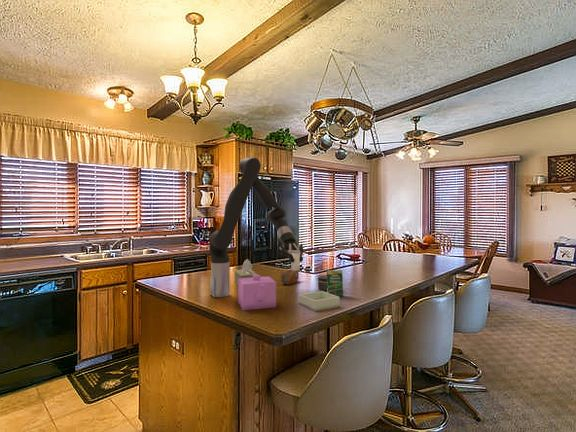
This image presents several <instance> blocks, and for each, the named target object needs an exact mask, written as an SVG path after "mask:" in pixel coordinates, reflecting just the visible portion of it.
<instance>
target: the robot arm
mask: <svg viewBox="0 0 576 432" xmlns="http://www.w3.org/2000/svg"><path fill="white" fill-rule="evenodd" d="M238 169H239V171H240V173H241V175H242V176H241V178H240V180H238V183H237V184H236V185H235V186H234V188H233V189H232V190H231V192H230V193H229V196H228V197H227V200H226V203H225V207H224V212H223V213H224V215H223V221H222V223H221V225H220V227H219V229H218V230H215V231H213V232H212V233H211V234H210V237H209V257H210V266H211V267H210V272H211V275H210V276H209V295H210V296H211V295H212V296H213V297H212V296H211V297H212V298H224V297H225V298H226V297H229V296H230V291H231V290H230V256H229V253H228V248H229V247H230V245H231V243H232V241H233V238H234V233H235V230H236V227H237V224H238V222H239V220H240V217H241V215H242V212H243V210H244V208H245V205H246V203H247V199H248V198H249V195H250V192H251V190H252V188H253V189H254V191H255V193H256V194H257V195H258V197H259V199H260V201H261V203H262V204H263V206H264V208H266V209H270V208H271V209H270V210H269V211H268V212H267V213H266V217H267V219H268V220H269V222H270V224H272V225H273V226H274V228H275V231H276V232H277V235H278V238H279V241H280V243H281V244H280V246H279V247H278V249H279V251H280V252H281V254H283V256H284V257H288V259H289V261H290V263H291V262H292V263H293V262H294V258H293V256H292V255H291V250H300V263H302V262H303V261H304V257H303V255H304V246H303V244H302V243H301V244H298V243H297V241H296V238H295V236H294V234H293V232H292V230H291V228H290V226H289V224H288V222H287V221H286V219H284V218H285V217H286V215H287V214H286V213H287V212H286V210H285V209H284V207H282V206H281V205H280V204H279V203H278V202H277V201H276V199H275V197H274V195H273V194H272V191H271V190H270V189H269V188H268V187H267V185H266V184H265V183H264V182H263V181H262V180H261V179H260V178H259V176H258V175H259V174H260V170H261V162H260V160H259V159H258V158H257V157H247V158H246V157H245V158H243V159H241V160H240V162H239V164H238ZM272 208H273V209H272Z"/></svg>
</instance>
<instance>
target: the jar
mask: <svg viewBox="0 0 576 432" xmlns="http://www.w3.org/2000/svg"><path fill="white" fill-rule="evenodd" d="M317 287H318V292H319V291H324V292H326V293H327V274H326V275H325V274H324V275H323V274H322V275H319V276H318V277H317Z"/></svg>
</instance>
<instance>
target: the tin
mask: <svg viewBox="0 0 576 432" xmlns="http://www.w3.org/2000/svg"><path fill="white" fill-rule="evenodd" d="M298 280H299V270H291V268H289V269H284V270H282V272H281V273H280V281H281V284H283V285H291V284H294V283H296V282H297V281H298Z"/></svg>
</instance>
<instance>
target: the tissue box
mask: <svg viewBox="0 0 576 432" xmlns="http://www.w3.org/2000/svg"><path fill="white" fill-rule="evenodd" d="M252 268H253V264H252V263H251V261H250V260H249V258H246V260H244V262H243V264H242V269H234V284H235V285H236V286H237V287H238V278H253V275H259V274H258V273H256V272H255V271H253V270H252Z"/></svg>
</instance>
